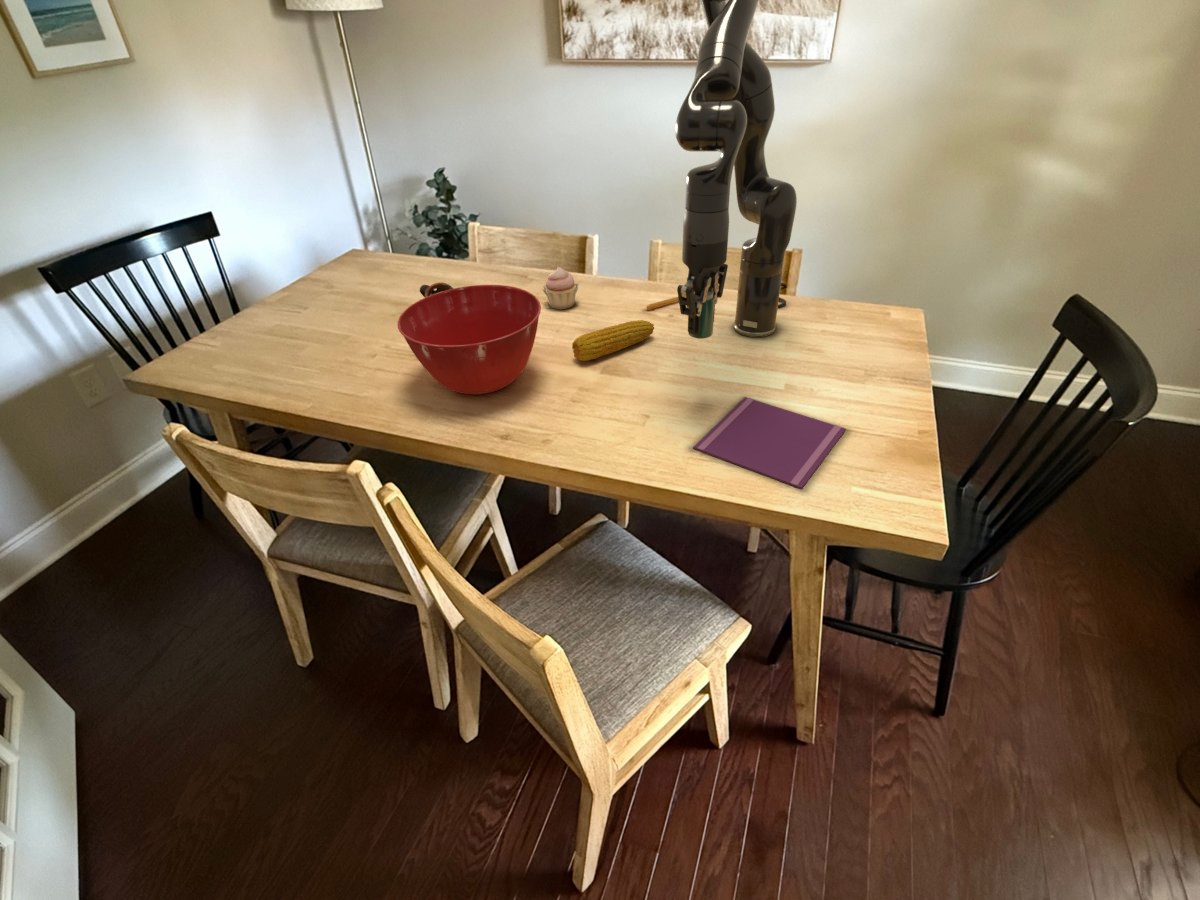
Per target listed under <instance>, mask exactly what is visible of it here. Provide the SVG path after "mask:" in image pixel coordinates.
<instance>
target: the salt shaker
mask: <svg viewBox="0 0 1200 900" xmlns="http://www.w3.org/2000/svg"><path fill="white" fill-rule="evenodd" d="M694 297H698V298H701V296H700V295H696V294H694ZM714 304H715V296H714V295H713V291H712V290H711V291H710V292H708V293H707V298H706V302H705V303H703V305H702V311H701V328H700V333H699V334H698V335H694V334H690V333H689V332H688V331H687V332H688V335H689V337H691V338H694V339H699V340H701V339H702V340H704V339H709V338H711V337H712V336H713V334H714V322H713V319H714V320H715V312H714ZM715 305H716V304H715ZM695 307H696V308H697V302H695Z"/></svg>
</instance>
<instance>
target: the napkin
mask: <svg viewBox="0 0 1200 900" xmlns="http://www.w3.org/2000/svg"><path fill="white" fill-rule="evenodd" d="M846 430H847V428H845V427H843V426H840V425H837V424H832V423H830V422H826V421H823V420H820V419H817V418H813V417H810V416H807V415H804V414H800V413H797V412H794V411H791V410H787V409H784V408H781V407H778V406H776V405H772V404H768V403H766V402H762V401H759V400H756V399H754V398H751V397H748V396H747V397H746V396H744V397H743V398H742V399H741V400H740V401H739V402H738V403H737V404H736V405H735V406H734V407H733V408H732V409H731V410H730V411H729V412H728V413H727V414H726V415H725V416H724V417H723V418H721V420H719V422H717V423H716V424H715V425H714V426H713V427H712V428H710V430H709V431H708V432H707V433H706V434H705V435H704V436H703V437H702V438H701V439H700V440H698V441H697V442H696V443H695V444H694V445H693V447H692V448H693V450H695V451H697V452H701V453H704V454H707V455H709V456H712V457H714V458H717V459H720V460H722V461H725V462H727V463H730V464H733V465H736V466H739V467H741V468H744V469H746V470H749V471H751V472H754V473H757V474H759V475H762V476H764V477H767V478H770V479H773V480H775V481H779V482H781V483H783V484H786V485H789V486H791V487H794V488H797V489H800V490H802V489H803V488H804V487H805V485H806V484H807V482H809V480H810V479H811V477H812V476H813V475H814V474H815V472H816V470H817V469H818V468H819V467H820V466H821V464H822V463H823V461H825V459H826V457H827V456H828V455H829V453H830V452H831V451H832V450H833V448H834V447H835V446H836V444H837V443H838V441H839V440H840V439H841V438H842V436H843V435H844V433H846Z"/></svg>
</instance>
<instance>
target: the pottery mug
mask: <svg viewBox="0 0 1200 900" xmlns="http://www.w3.org/2000/svg"><path fill="white" fill-rule="evenodd" d="M450 289H454V287H452V286H451V285H450V284H448V283H446V282H435V283H432V284H431V285H428V284H422V285H420V287H419V292H420V294H421V296H422V297H423V298H425V297H428V296H430V295H433V294H436V293H439V292H442V291H446V290H450Z"/></svg>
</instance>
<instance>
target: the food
mask: <svg viewBox="0 0 1200 900" xmlns="http://www.w3.org/2000/svg"><path fill="white" fill-rule="evenodd" d="M654 330H655V324H654V323H652V322H651V321H649V320H644V319H640V320H639V319H638V320H631V321H625V322H623V323H618V324H615V325H611V326H607V327H604V328H601V329H597V330H594V331H591V332H587V333H583V334H581V335H579V336H578V337H577V338H575V339H574V340H573V341H572V343H571V345H572V346H571V349H572V352H573V356H574V358H576V359H577V360H578V361H582V362H583V361H584V362H585V361H590V360H595V359H598V358H600V357H603V356H607V355H609V354H612V353H615V352H618V351H620V350H623V349H626V348H628V347H631V346H633V345H636V344H637V343H640V342H642V341H643V340H646V339H647V338H649V337H650V336H651V335H652V334H653V333H654Z"/></svg>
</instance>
